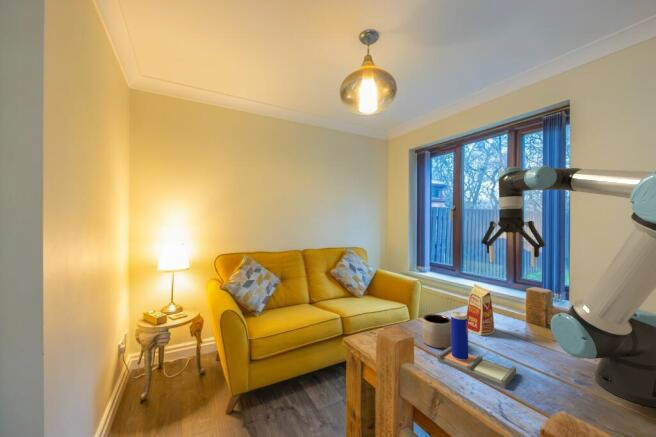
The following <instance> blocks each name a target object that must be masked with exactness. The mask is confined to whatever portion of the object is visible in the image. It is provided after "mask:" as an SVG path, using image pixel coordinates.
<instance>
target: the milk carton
mask: <svg viewBox="0 0 656 437" xmlns="http://www.w3.org/2000/svg"><path fill="white" fill-rule="evenodd" d="M473 285H474V287H473V288H472V289H471V290H470V291H469V292H470V293H469V296H468V300H467V306H466V312H465V314H467V317H468V332H471V333H472V334H473V333H474V334H476V335H479V336H487V335H492V334H493V333H494V332H495V320H494V312H493V311H494V308H493V303H492V295H491V292H492V291H491V290H489V289H486V288H483V287H482V286H480V285H478V284H476V283H473Z"/></svg>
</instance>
